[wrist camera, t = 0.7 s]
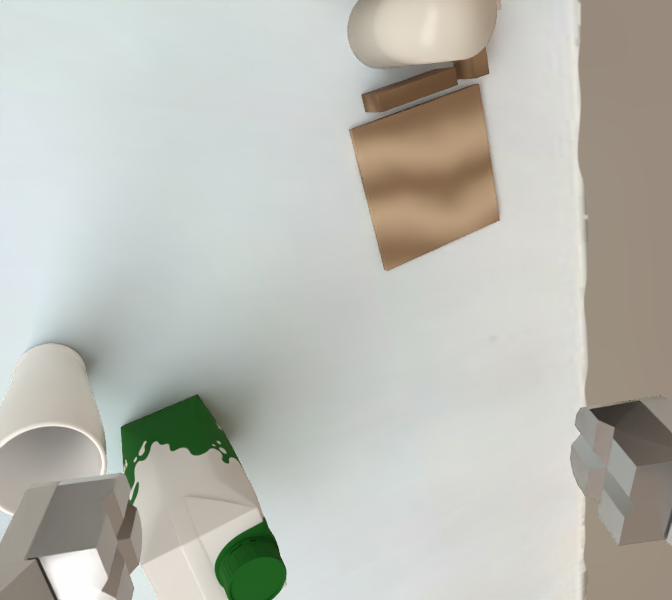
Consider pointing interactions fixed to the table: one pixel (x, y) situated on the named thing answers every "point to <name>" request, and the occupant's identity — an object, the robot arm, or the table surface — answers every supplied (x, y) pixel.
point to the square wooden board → (427, 175)
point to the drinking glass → (48, 424)
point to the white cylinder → (419, 30)
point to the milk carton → (197, 510)
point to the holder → (425, 84)
